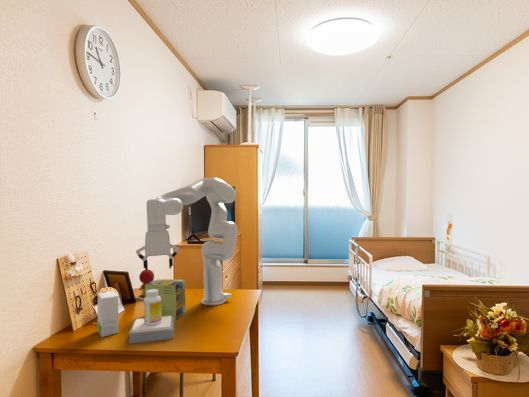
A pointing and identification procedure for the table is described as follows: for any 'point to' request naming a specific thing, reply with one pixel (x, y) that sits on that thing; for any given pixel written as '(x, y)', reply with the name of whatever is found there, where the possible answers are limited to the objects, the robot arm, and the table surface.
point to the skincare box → (107, 313)
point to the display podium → (151, 330)
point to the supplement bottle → (152, 307)
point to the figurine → (145, 281)
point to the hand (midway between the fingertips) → (158, 268)
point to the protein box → (170, 296)
